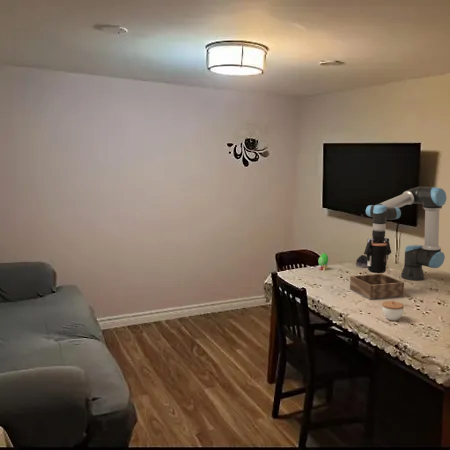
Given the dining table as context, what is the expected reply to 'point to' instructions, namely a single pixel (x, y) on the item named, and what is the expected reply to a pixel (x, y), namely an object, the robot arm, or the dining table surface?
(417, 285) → the dining table surface
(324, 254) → the green toy tree
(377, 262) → the coffee jar
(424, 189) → the robot arm
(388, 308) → the lidded jar
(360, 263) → the crystal cluster
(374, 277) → the open wooden box
